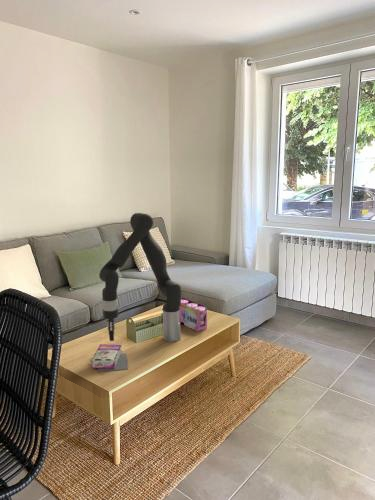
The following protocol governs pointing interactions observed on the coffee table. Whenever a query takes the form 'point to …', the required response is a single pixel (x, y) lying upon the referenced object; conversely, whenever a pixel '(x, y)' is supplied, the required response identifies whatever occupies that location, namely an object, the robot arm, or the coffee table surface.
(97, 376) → the coffee table surface
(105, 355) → the candy bar box
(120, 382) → the coffee table surface
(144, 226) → the robot arm
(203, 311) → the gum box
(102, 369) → the mat
